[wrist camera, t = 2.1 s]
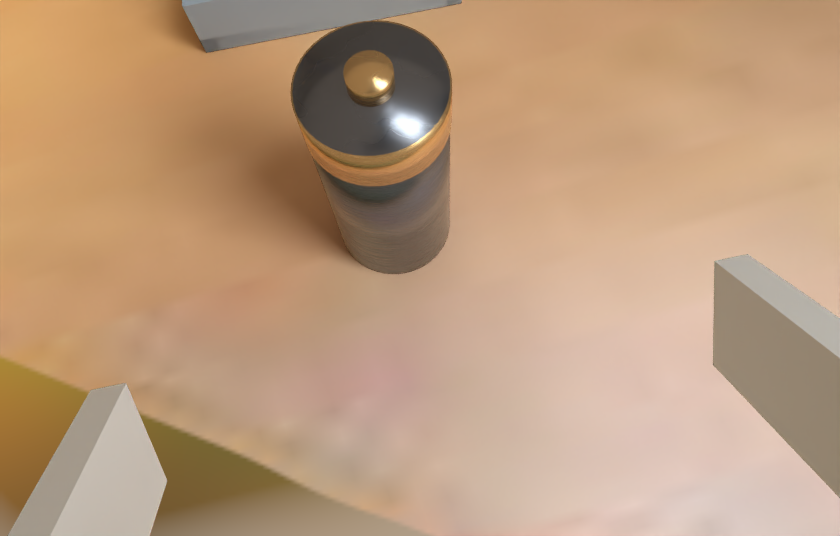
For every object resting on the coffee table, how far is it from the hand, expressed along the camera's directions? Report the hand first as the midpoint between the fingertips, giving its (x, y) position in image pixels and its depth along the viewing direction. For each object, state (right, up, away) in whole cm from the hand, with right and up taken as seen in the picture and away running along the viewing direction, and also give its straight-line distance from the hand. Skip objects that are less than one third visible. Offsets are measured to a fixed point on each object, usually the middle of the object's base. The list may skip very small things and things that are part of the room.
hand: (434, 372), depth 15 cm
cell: (-2, +4, +18) cm, 18 cm away
